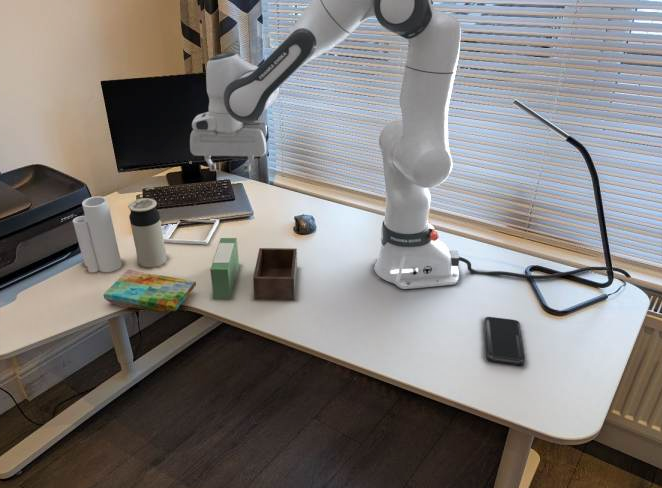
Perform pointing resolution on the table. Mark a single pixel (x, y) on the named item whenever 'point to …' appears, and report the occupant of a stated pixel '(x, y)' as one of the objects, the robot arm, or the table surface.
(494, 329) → the phone
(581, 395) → the table surface
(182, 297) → the puzzle game
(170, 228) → the photo frame
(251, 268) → the table surface
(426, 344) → the table surface
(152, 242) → the travel mug
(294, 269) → the box
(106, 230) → the vase
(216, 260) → the tea packet
